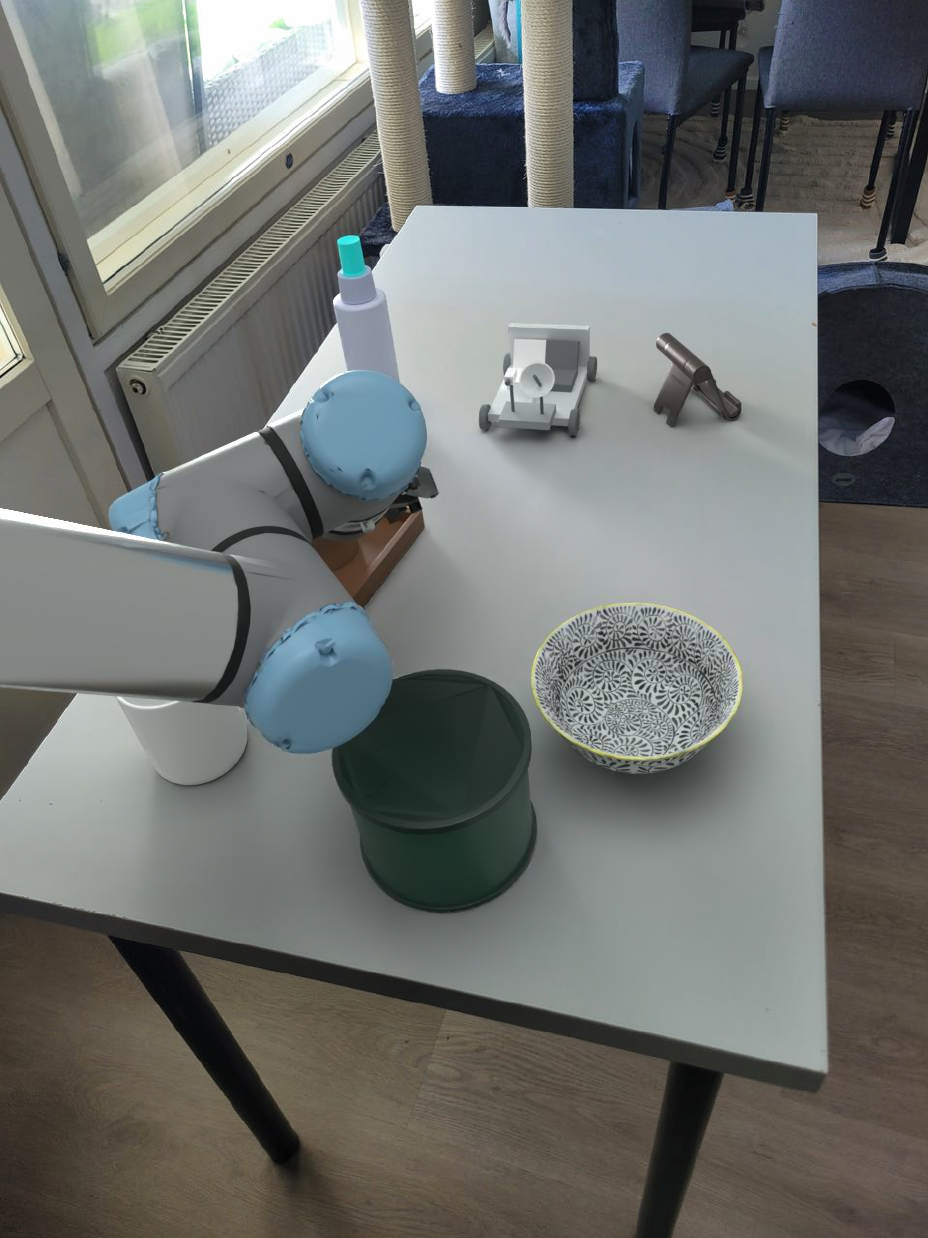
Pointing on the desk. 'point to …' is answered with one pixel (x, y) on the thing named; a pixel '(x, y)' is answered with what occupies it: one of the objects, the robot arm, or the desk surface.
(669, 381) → the tablet stand
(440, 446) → the desk surface
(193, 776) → the cup
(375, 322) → the spray bottle
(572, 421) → the toy car
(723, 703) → the bowl
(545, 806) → the desk surface
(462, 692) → the bucket
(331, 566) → the silver cup
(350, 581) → the tray
